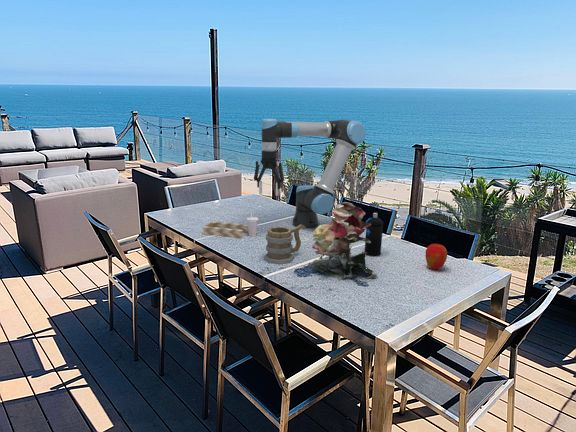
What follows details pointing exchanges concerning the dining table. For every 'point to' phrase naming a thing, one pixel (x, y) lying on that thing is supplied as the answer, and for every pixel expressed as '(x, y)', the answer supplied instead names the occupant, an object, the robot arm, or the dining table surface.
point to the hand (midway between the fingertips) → (268, 194)
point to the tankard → (282, 244)
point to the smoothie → (252, 225)
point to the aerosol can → (374, 236)
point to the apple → (436, 256)
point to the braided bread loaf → (225, 229)
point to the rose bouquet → (341, 242)
